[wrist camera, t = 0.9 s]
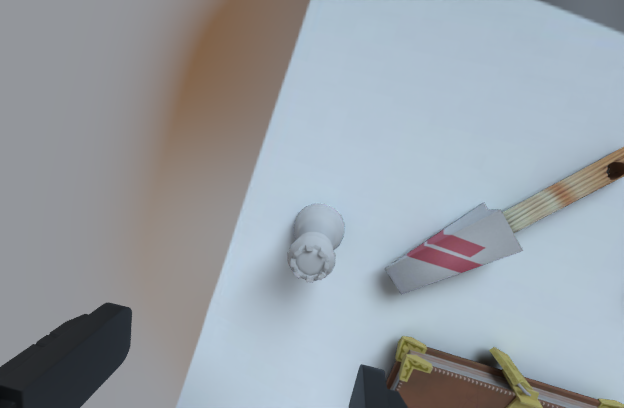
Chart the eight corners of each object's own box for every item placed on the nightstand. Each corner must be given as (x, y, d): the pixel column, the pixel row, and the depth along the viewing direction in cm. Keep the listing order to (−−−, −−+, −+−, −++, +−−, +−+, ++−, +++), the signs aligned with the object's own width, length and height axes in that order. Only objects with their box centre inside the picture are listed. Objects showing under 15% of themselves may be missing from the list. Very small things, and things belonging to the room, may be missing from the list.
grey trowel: (384, 270, 25) (643, 134, 21) (379, 257, 27) (609, 134, 24) (407, 308, 25) (664, 182, 22) (400, 292, 28) (628, 176, 24)
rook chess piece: (354, 234, 28) (357, 276, 20) (312, 257, 29) (300, 306, 21) (327, 192, 27) (320, 219, 19) (285, 217, 28) (262, 253, 20)
